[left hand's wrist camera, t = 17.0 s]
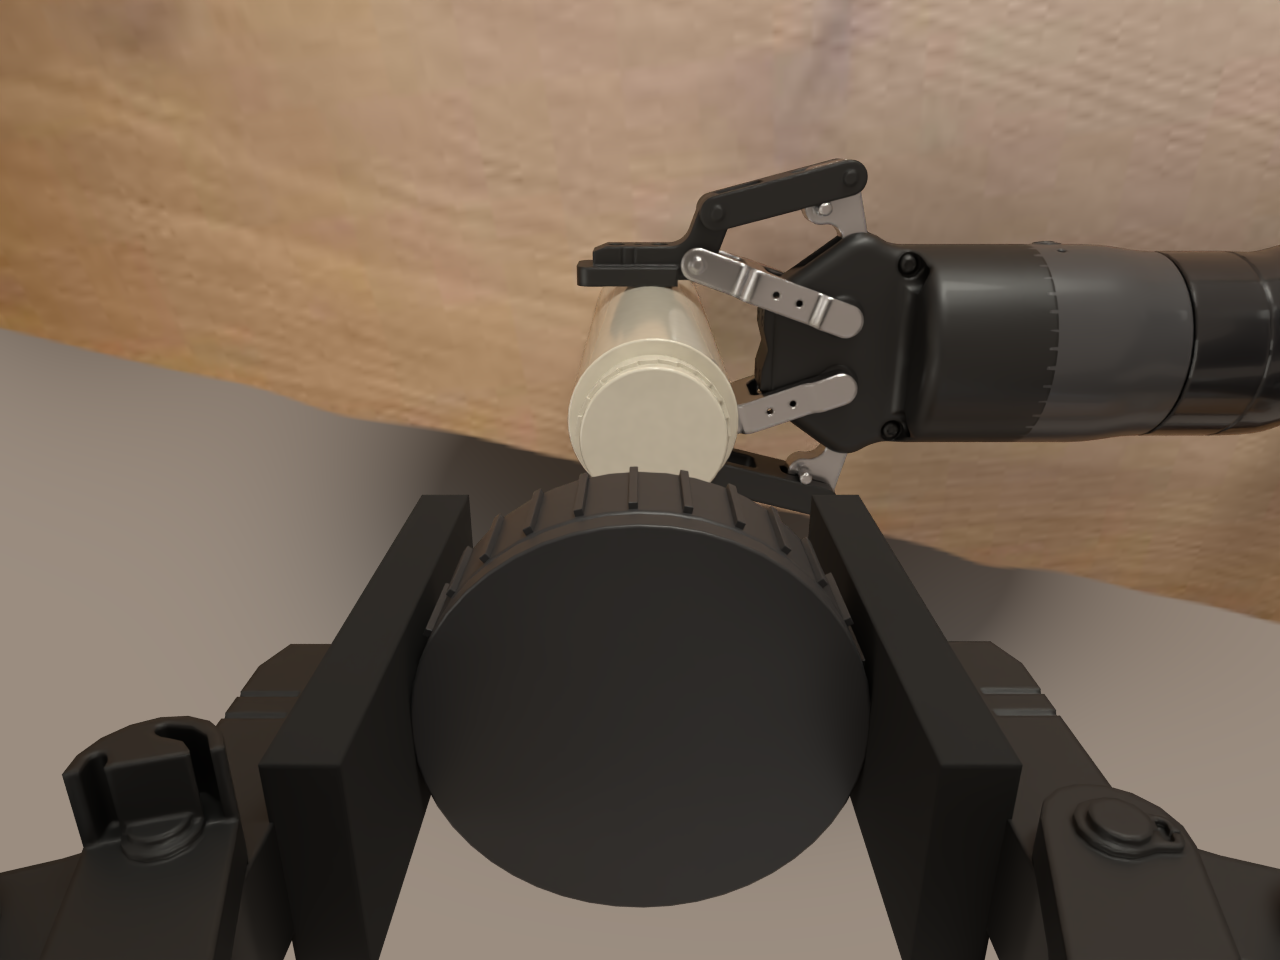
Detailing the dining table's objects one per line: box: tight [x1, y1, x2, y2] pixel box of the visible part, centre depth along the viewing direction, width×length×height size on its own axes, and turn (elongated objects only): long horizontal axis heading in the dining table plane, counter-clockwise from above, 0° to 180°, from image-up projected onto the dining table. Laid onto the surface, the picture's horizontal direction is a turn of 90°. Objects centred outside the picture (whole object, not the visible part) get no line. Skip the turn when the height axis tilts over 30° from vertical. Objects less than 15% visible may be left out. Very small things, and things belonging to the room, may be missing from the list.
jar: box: [568, 280, 738, 483], centre depth 31 cm, size 5×5×18 cm
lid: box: [410, 466, 871, 907], centre depth 11 cm, size 6×6×2 cm
